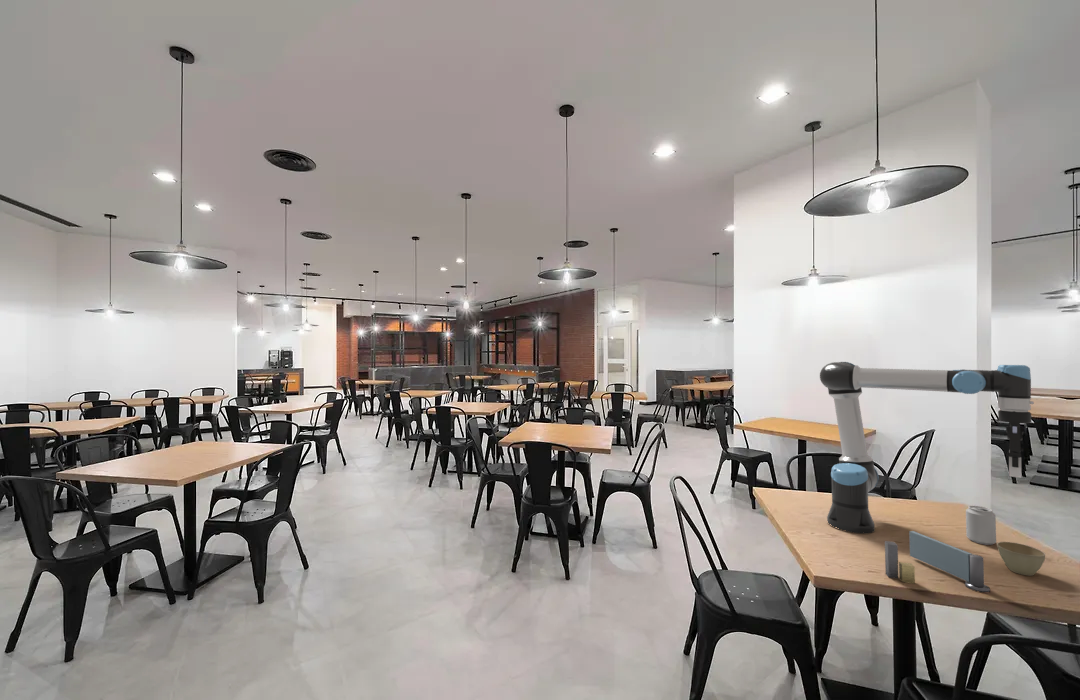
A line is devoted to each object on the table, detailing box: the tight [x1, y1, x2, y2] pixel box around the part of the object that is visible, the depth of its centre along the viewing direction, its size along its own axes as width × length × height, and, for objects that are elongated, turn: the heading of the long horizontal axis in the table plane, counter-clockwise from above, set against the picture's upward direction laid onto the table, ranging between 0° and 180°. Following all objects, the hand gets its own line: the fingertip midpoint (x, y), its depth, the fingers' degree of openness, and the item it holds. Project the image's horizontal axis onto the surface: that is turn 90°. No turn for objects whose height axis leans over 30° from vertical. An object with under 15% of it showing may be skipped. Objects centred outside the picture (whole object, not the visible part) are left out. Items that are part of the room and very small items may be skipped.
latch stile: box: [884, 540, 916, 584], centre depth 129 cm, size 6×4×10 cm
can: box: [965, 505, 997, 546], centre depth 155 cm, size 8×8×12 cm
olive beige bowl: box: [996, 541, 1046, 577], centre depth 133 cm, size 10×10×7 cm
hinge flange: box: [964, 580, 991, 593], centre depth 124 cm, size 5×5×1 cm
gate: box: [908, 530, 985, 587], centre depth 132 cm, size 20×3×8 cm, turn 9°
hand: (1015, 473), depth 146 cm, fingers open, 13 cm apart
